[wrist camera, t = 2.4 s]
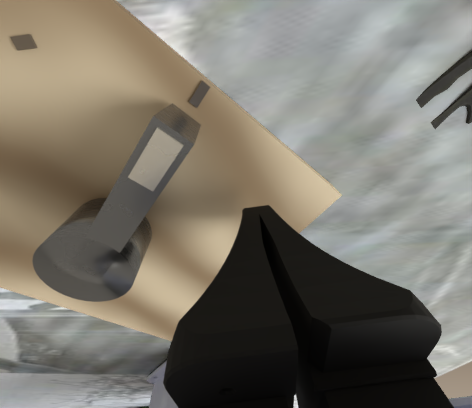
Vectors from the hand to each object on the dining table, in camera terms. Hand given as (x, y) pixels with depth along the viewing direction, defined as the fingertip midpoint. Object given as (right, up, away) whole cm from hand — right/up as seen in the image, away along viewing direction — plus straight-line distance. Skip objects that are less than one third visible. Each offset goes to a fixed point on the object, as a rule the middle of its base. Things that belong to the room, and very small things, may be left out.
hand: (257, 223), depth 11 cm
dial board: (-8, 0, +3) cm, 8 cm away
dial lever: (-6, +1, 0) cm, 6 cm away
